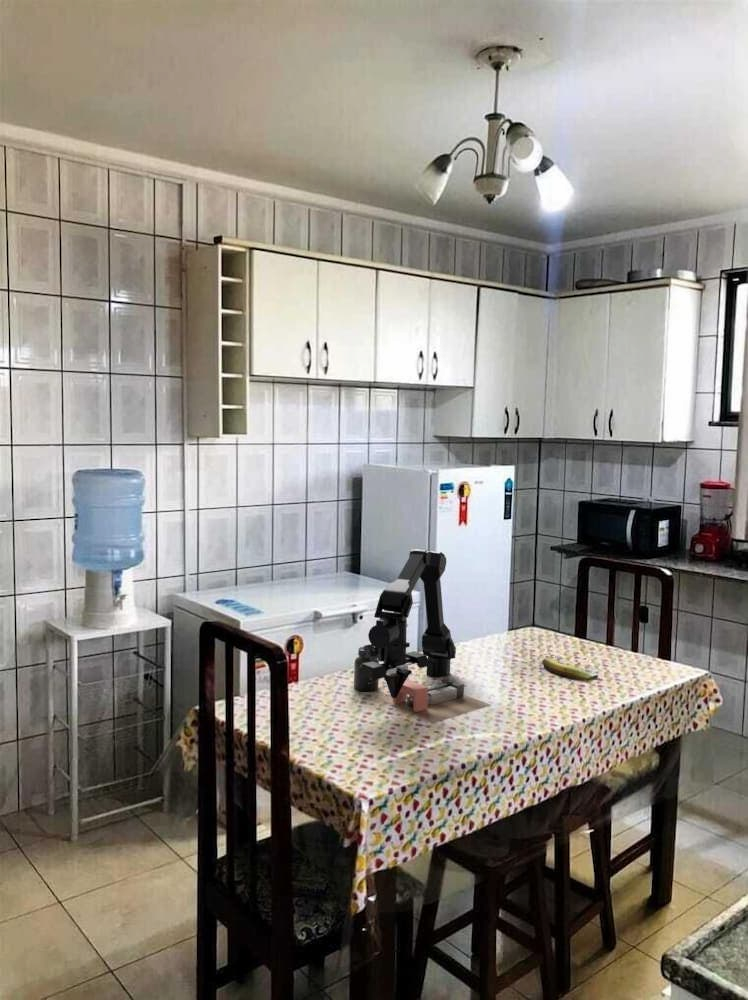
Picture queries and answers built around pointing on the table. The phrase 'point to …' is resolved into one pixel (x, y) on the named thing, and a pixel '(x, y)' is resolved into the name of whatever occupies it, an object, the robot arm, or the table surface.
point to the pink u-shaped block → (414, 695)
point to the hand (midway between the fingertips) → (393, 697)
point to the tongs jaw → (446, 693)
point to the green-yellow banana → (566, 670)
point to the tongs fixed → (436, 686)
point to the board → (440, 707)
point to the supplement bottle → (359, 680)
